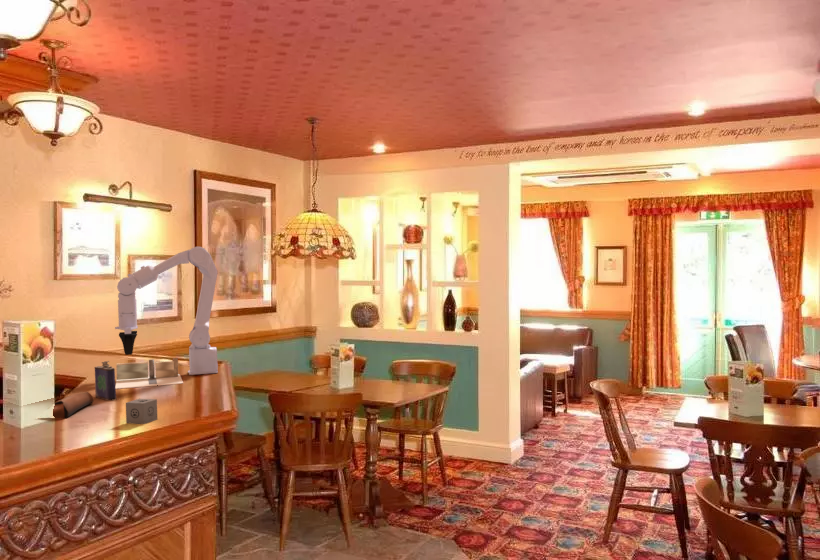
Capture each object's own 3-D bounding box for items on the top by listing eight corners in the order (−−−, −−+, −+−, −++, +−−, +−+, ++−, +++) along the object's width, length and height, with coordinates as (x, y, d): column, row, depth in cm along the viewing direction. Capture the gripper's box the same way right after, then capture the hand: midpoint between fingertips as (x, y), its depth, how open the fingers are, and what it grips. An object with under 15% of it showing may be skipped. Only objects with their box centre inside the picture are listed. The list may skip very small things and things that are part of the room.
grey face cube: (144, 424, 162) (143, 403, 161) (126, 423, 163) (125, 402, 163) (157, 419, 166) (156, 399, 166) (139, 418, 168) (139, 398, 168)
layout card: (179, 374, 236) (179, 373, 236) (183, 383, 217) (183, 382, 217) (116, 379, 229) (116, 378, 228) (115, 389, 210) (115, 388, 210)
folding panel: (148, 377, 228) (147, 361, 228) (148, 377, 227) (147, 362, 227) (116, 379, 225) (116, 363, 224) (116, 380, 223) (116, 364, 223)
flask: (93, 397, 197) (92, 360, 197) (103, 395, 199) (102, 359, 199) (109, 401, 191) (108, 363, 191) (119, 399, 194) (118, 361, 193)
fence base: (178, 375, 232) (177, 357, 232) (178, 376, 230) (177, 358, 230) (149, 378, 228) (148, 359, 228) (149, 378, 227) (148, 360, 227)
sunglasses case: (61, 404, 186) (73, 383, 187) (84, 416, 187) (97, 395, 188) (32, 419, 169) (46, 396, 169) (59, 433, 169) (72, 409, 170)
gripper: (115, 312, 235) (116, 351, 235) (114, 315, 221) (115, 356, 222) (137, 311, 237) (138, 350, 238) (137, 314, 224) (138, 355, 224)
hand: (128, 353), depth 230 cm, fingers open, 6 cm apart
